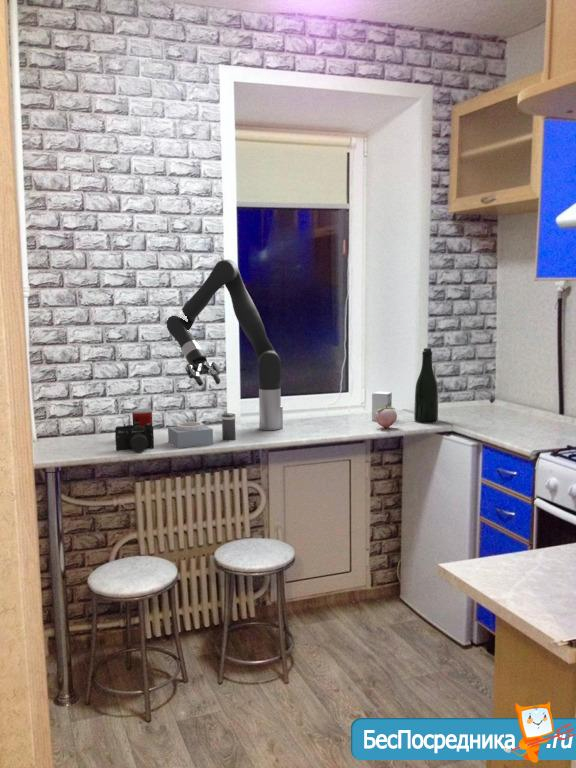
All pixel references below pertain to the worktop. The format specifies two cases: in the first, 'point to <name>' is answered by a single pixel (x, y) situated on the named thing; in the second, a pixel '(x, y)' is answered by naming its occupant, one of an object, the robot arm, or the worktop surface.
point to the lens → (228, 426)
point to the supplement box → (380, 402)
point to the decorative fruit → (386, 416)
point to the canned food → (142, 416)
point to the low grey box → (190, 434)
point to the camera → (134, 437)
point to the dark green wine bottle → (426, 391)
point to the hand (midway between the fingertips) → (210, 384)
